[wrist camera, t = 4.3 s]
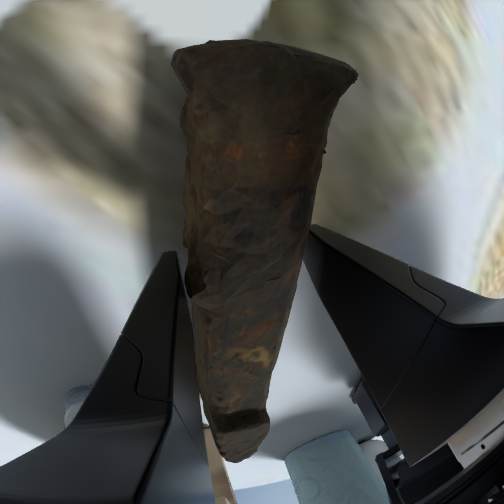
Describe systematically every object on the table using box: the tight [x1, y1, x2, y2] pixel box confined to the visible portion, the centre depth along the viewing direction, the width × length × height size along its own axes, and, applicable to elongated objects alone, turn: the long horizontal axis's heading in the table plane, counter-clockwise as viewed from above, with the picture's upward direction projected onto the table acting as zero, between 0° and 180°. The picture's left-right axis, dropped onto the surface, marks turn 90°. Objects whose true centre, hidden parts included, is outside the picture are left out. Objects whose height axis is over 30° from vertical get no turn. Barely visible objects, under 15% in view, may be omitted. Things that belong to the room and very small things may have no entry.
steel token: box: [64, 386, 92, 428], centre depth 15 cm, size 4×4×2 cm
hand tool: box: [171, 39, 358, 463], centre depth 11 cm, size 19×4×5 cm, turn 172°
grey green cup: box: [285, 430, 390, 504], centre depth 27 cm, size 10×10×12 cm
